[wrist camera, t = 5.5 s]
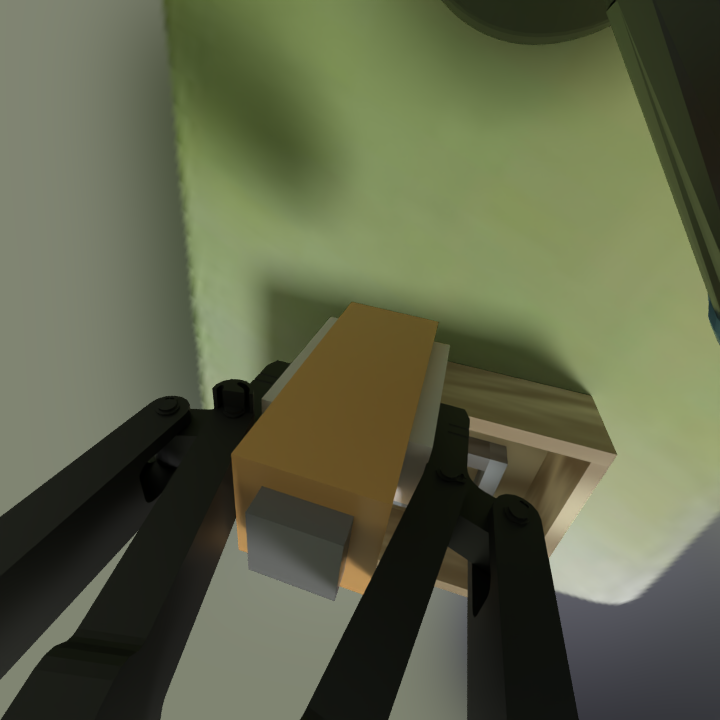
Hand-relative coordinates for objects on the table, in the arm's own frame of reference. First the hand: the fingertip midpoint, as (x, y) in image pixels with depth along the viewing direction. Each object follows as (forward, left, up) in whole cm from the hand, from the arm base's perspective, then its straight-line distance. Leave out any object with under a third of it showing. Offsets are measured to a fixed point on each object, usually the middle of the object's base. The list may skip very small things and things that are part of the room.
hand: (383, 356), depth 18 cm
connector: (0, 0, -1) cm, 1 cm away
